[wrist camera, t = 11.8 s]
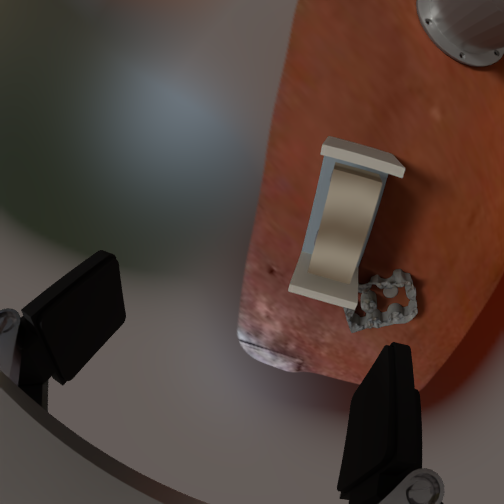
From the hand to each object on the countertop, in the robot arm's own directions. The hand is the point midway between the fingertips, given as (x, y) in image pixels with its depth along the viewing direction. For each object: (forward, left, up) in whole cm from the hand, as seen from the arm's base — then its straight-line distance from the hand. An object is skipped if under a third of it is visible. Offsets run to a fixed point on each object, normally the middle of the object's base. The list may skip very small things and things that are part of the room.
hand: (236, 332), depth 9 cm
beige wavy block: (+5, +4, -26) cm, 27 cm away
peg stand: (+5, +4, -30) cm, 31 cm away
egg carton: (+16, +13, -31) cm, 37 cm away
